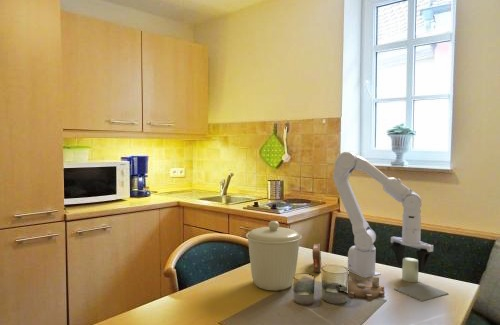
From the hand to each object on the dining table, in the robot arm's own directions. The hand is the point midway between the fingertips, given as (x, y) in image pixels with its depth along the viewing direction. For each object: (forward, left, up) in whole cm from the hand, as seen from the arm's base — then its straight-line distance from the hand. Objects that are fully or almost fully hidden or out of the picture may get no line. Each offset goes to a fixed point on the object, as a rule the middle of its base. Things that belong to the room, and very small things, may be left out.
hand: (410, 267), depth 126 cm
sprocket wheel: (0, -22, -4) cm, 22 cm away
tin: (-24, -21, -5) cm, 32 cm away
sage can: (0, 0, -4) cm, 4 cm away
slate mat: (+9, -6, -4) cm, 12 cm away
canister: (-17, -44, -5) cm, 47 cm away
